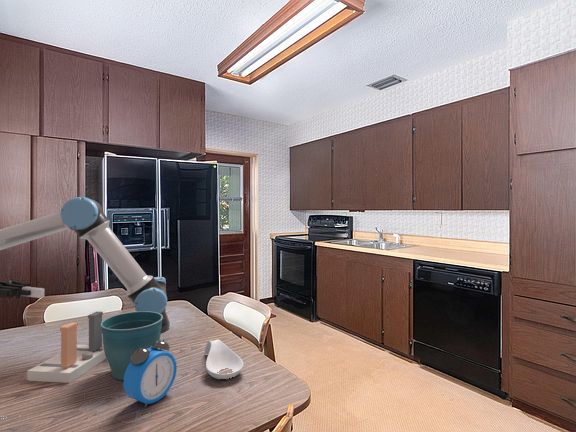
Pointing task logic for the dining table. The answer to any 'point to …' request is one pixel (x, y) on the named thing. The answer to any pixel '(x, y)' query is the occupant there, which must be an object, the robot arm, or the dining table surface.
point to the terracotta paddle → (68, 344)
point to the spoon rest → (222, 360)
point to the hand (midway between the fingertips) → (42, 293)
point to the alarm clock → (150, 373)
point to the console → (56, 373)
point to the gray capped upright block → (95, 331)
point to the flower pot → (128, 337)
